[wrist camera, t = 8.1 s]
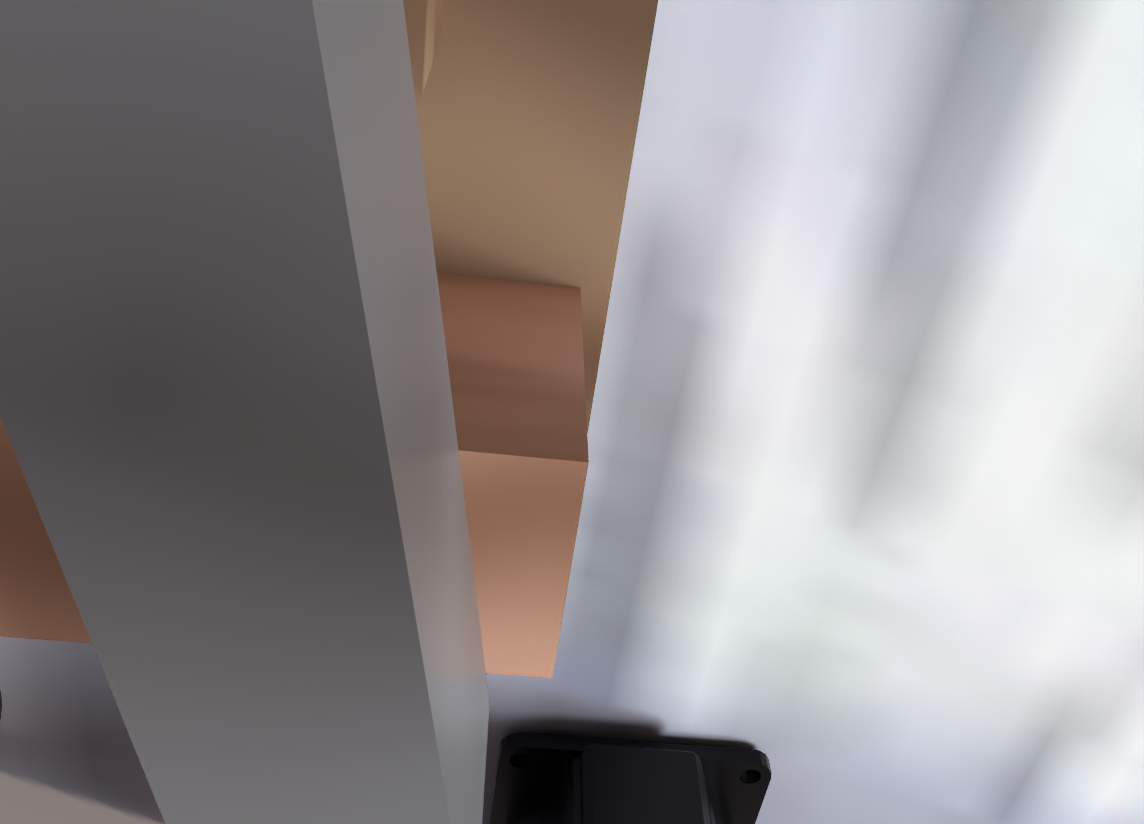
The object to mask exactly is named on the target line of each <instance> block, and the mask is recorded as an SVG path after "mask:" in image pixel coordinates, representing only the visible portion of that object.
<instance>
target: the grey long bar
mask: <svg viewBox="0 0 1144 824" xmlns="http://www.w3.org/2000/svg"><path fill="white" fill-rule="evenodd" d="M0 418H1V420H2V423H3V425H4V428H5V430H6V433H7V435H8V438H9V440H10V443H11V445H12V447H13V450H14V452H15V455H16V457H17V460H18V462H19V465H20V467H21V470H22V472H23V475H24V477H25V480H26V482H27V485H28V487H29V489H30V492H31V494H32V497H33V499H34V502H35V504H36V507H37V509H38V512H39V514H40V517H41V519H42V522H43V524H44V526H45V529H46V531H47V534H48V536H49V539H50V541H51V544H52V546H53V549H54V551H55V554H56V556H57V559H58V561H59V563H60V566H61V568H62V571H63V573H64V576H65V578H66V581H67V583H68V586H69V588H70V591H71V593H72V596H73V598H74V600H75V603H76V605H77V608H78V610H79V613H80V615H81V618H82V620H83V623H84V625H85V628H86V630H87V633H88V635H89V637H90V640H91V642H92V645H93V647H94V650H95V652H96V655H97V657H98V660H99V662H100V665H101V667H102V670H103V672H104V674H105V677H106V679H107V682H108V684H109V687H110V689H111V692H112V694H113V697H114V699H115V702H116V704H117V707H118V709H119V712H120V714H121V716H122V719H123V721H124V724H125V726H126V729H127V731H128V734H129V736H130V739H131V741H132V744H133V746H134V749H135V751H136V753H137V756H138V758H139V761H140V763H141V766H142V768H143V771H144V773H145V776H146V778H147V781H148V783H149V786H150V788H151V790H152V793H153V795H154V798H155V800H156V803H157V805H158V808H159V810H160V813H161V815H162V818H163V820H164V823H165V824H482V818H483V802H484V786H485V769H486V753H487V737H488V720H489V704H490V702H489V694H488V686H487V678H486V670H485V662H484V654H483V645H482V637H481V629H480V621H479V613H478V605H477V597H476V588H475V580H474V572H473V564H472V556H471V548H470V540H469V532H468V523H467V515H466V507H465V499H464V491H463V483H462V475H461V466H460V458H459V450H458V442H457V434H456V426H455V418H454V410H453V401H452V393H451V385H450V377H449V369H448V361H447V353H446V344H445V336H444V328H443V320H442V312H441V304H440V296H439V288H438V279H437V271H436V263H435V255H434V247H433V239H432V231H431V222H430V214H429V206H428V198H427V190H426V182H425V174H424V166H423V157H422V149H421V141H420V133H419V125H418V117H417V109H416V100H415V92H414V84H413V76H412V68H411V60H410V52H409V44H408V35H407V27H406V19H405V11H404V3H403V0H0Z"/></svg>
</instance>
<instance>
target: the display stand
mask: <svg viewBox="0 0 1144 824" xmlns="http://www.w3.org/2000/svg"><path fill="white" fill-rule="evenodd" d="M403 3H404V11H405V19H406V27H407V35H408V44H409V52H410V60H411V68H412V76H413V84H414V92H415V100H416V109H417V117H418V125H419V133H420V141H421V149H422V157H423V166H424V174H425V182H426V190H427V198H428V206H429V214H430V222H431V231H432V239H433V247H434V255H435V263H436V271H437V279H438V288H439V296H440V304H441V312H442V320H443V328H444V336H445V344H446V353H447V361H448V369H449V377H450V385H451V393H452V401H453V410H454V418H455V426H456V434H457V442H458V450H459V458H460V466H461V475H462V483H463V491H464V499H465V507H466V515H467V523H468V532H469V540H470V548H471V556H472V564H473V572H474V580H475V588H476V597H477V605H478V613H479V621H480V629H481V637H482V645H483V654H484V662H485V670H486V673H491V674H504V675H517V676H531V677H544V678H553V672H554V666H555V660H556V654H557V648H558V642H559V636H560V630H561V624H562V618H563V612H564V606H565V600H566V594H567V588H568V582H569V576H570V570H571V564H572V558H573V552H574V546H575V540H576V534H577V528H578V522H579V516H580V510H581V504H582V498H583V492H584V486H585V480H586V474H587V468H588V442H587V432H588V426H589V420H590V414H591V408H592V402H593V396H594V390H595V383H596V377H597V371H598V365H599V359H600V353H601V347H602V341H603V334H604V328H605V322H606V316H607V310H608V304H609V298H610V292H611V285H612V279H613V273H614V267H615V261H616V255H617V249H618V243H619V236H620V230H621V224H622V218H623V212H624V206H625V200H626V194H627V187H628V181H629V175H630V169H631V163H632V157H633V151H634V145H635V139H636V132H637V126H638V120H639V114H640V108H641V102H642V96H643V90H644V83H645V77H646V71H647V65H648V59H649V53H650V47H651V41H652V34H653V28H654V22H655V16H656V10H657V4H658V0H403ZM0 636H4V637H17V638H30V639H43V640H56V641H69V642H83V643H92V642H91V640H90V637H89V635H88V633H87V630H86V628H85V625H84V623H83V620H82V618H81V615H80V613H79V610H78V608H77V605H76V603H75V600H74V598H73V596H72V593H71V591H70V588H69V586H68V583H67V581H66V578H65V576H64V573H63V571H62V568H61V566H60V563H59V561H58V559H57V556H56V554H55V551H54V549H53V546H52V544H51V541H50V539H49V536H48V534H47V531H46V529H45V526H44V524H43V522H42V519H41V517H40V514H39V512H38V509H37V507H36V504H35V502H34V499H33V497H32V494H31V492H30V489H29V487H28V485H27V482H26V480H25V477H24V475H23V472H22V470H21V467H20V465H19V462H18V460H17V457H16V455H15V452H14V450H13V447H12V445H11V443H10V440H9V438H8V435H7V433H6V430H5V428H4V425H3V423H2V420H1V418H0Z"/></svg>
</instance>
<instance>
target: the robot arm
mask: <svg viewBox="0 0 1144 824" xmlns="http://www.w3.org/2000/svg"><path fill="white" fill-rule="evenodd" d="M1 711H2V697H1V691H0V719H1ZM770 780H771V769H770V764H769V759H768V758H767V756H766V754H764V753H762V752H761V751H758V750H753V749H741V748H727V747H713V746H699V745H685V744H671V743H657V742H643V741H629V740H615V739H601V738H587V737H573V736H559V735H545V734H531V733H514V734H511V735H508V736H506V737H505V738H504V739H502V741H501V743H500V745H499V752H498V759H497V766H496V774H495V781H494V789H493V796H492V804H491V811H490V818H489V824H755V822H756V819H757V816H758V813H759V811H760V808H761V805H762V802H763V799H764V796H765V794H766V791H767V788H768V785H769V782H770Z"/></svg>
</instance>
